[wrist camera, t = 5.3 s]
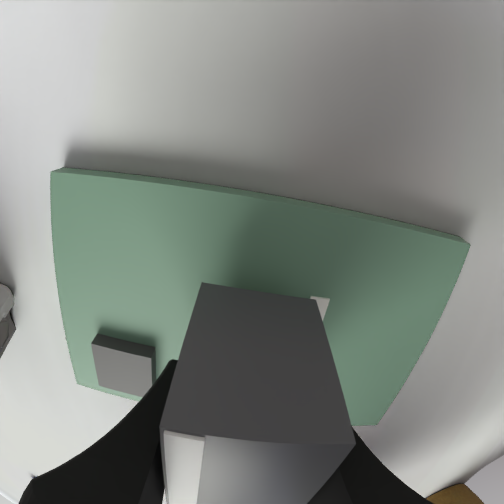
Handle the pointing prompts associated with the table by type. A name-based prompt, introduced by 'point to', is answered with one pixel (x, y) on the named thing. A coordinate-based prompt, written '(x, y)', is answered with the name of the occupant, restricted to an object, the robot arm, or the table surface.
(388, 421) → the table surface
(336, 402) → the plug
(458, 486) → the plant pot
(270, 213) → the pcb
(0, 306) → the electrical switch
